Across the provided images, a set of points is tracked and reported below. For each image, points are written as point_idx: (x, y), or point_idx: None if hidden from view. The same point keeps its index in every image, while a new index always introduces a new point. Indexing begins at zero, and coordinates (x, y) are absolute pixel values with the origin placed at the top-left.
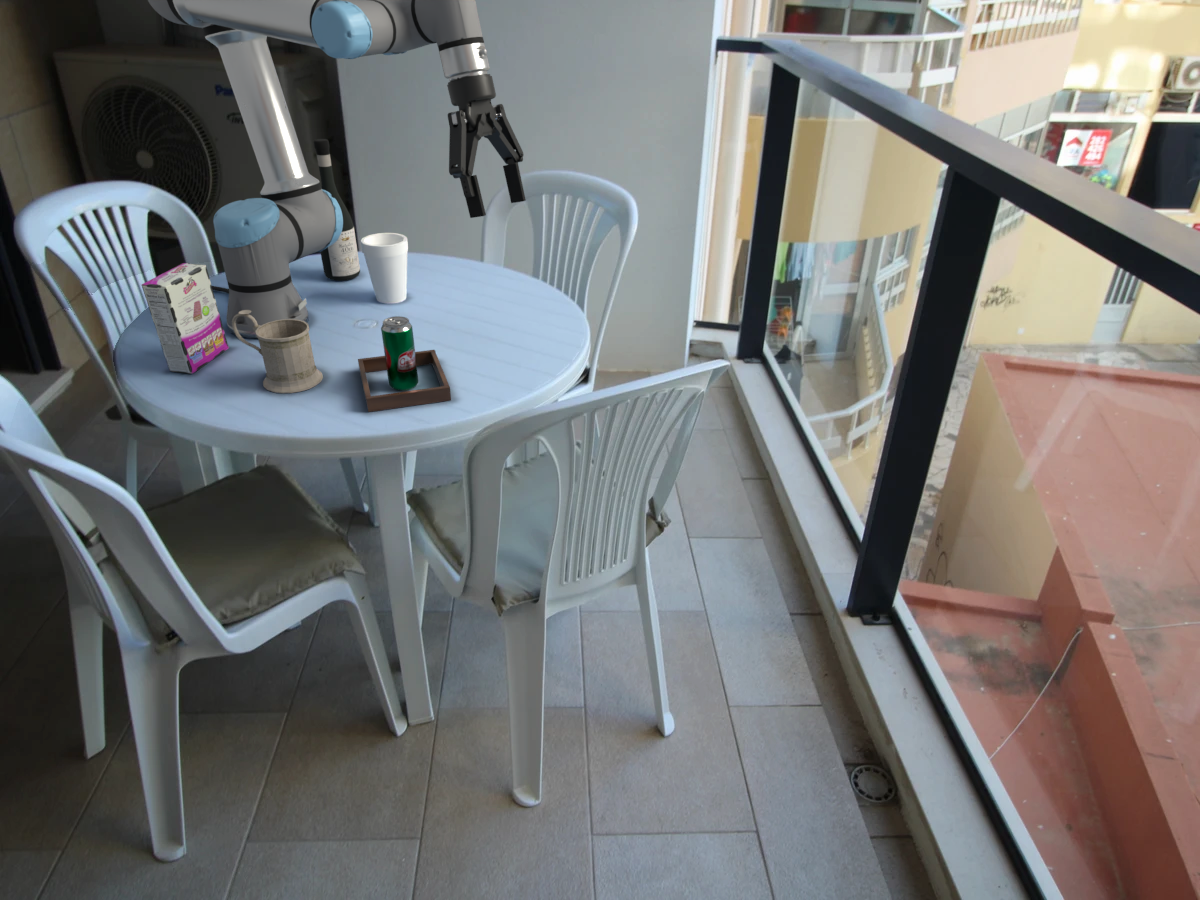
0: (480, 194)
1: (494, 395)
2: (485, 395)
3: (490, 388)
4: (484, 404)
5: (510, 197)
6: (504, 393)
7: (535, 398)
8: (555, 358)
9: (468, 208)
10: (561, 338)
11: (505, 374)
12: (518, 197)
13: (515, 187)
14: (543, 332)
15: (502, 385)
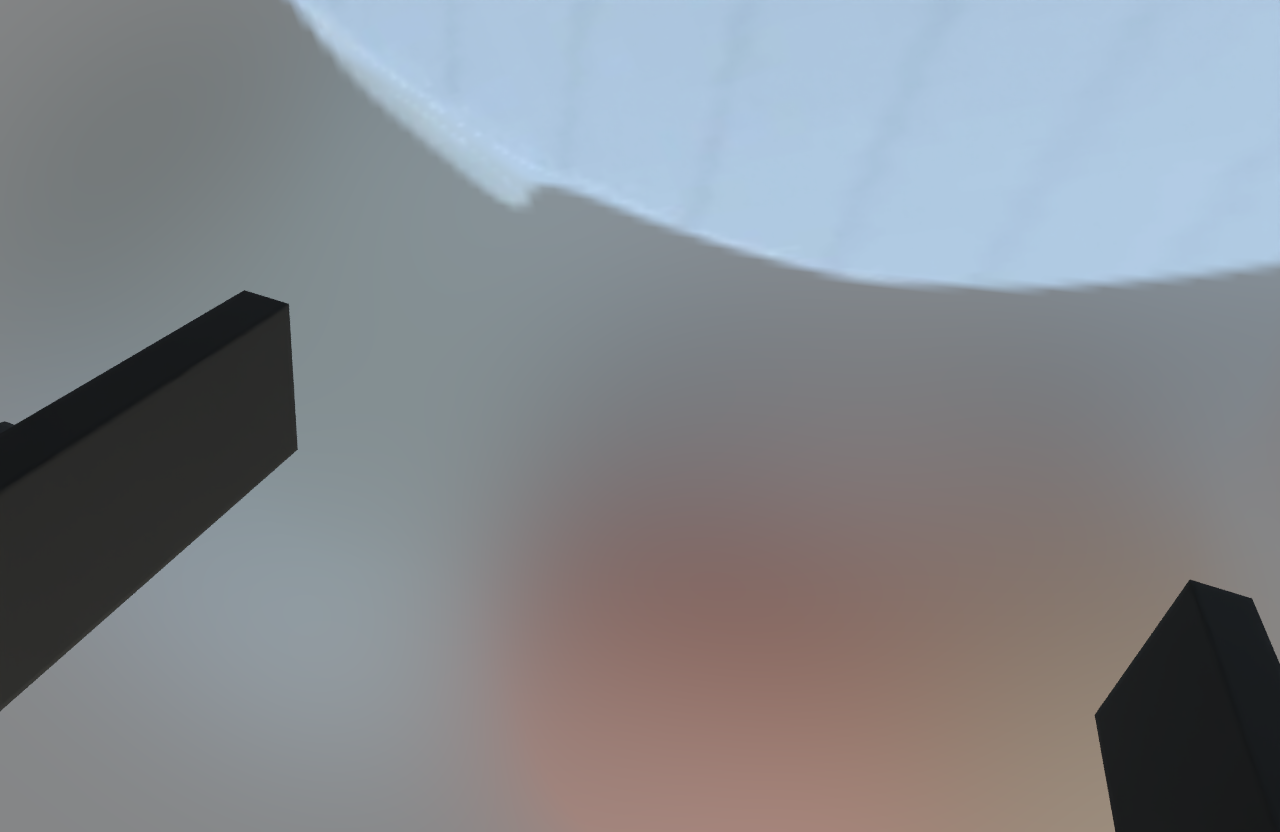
0: (132, 579)
1: (471, 47)
2: (455, 12)
3: (508, 13)
4: (402, 31)
5: (1199, 641)
6: (500, 79)
7: (518, 191)
8: (843, 207)
9: (171, 338)
10: (1081, 201)
11: (637, 37)
12: (1136, 716)
13: (1164, 828)
14: (1167, 98)
15: (549, 53)
